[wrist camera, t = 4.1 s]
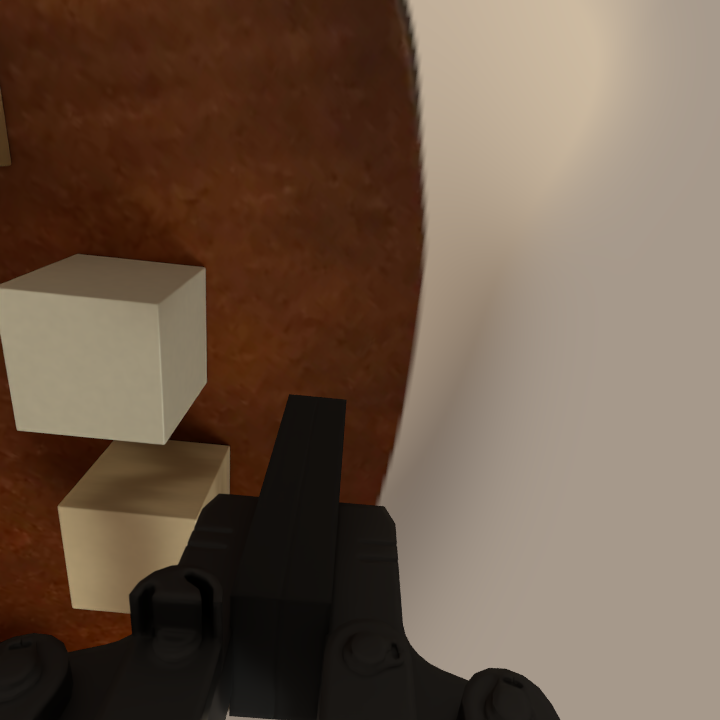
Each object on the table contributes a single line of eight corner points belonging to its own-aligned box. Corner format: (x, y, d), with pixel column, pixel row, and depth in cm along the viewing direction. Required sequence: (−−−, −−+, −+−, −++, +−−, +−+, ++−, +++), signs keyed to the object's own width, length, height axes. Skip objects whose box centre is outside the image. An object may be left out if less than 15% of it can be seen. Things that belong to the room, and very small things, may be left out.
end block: (230, 445, 24) (196, 519, 19) (229, 533, 26) (198, 620, 21) (117, 434, 24) (56, 506, 19) (125, 523, 26) (71, 608, 21)
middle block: (205, 266, 21) (158, 304, 16) (207, 382, 23) (165, 445, 18) (76, 253, 21) (-9, 287, 16) (89, 370, 23) (16, 431, 18)
